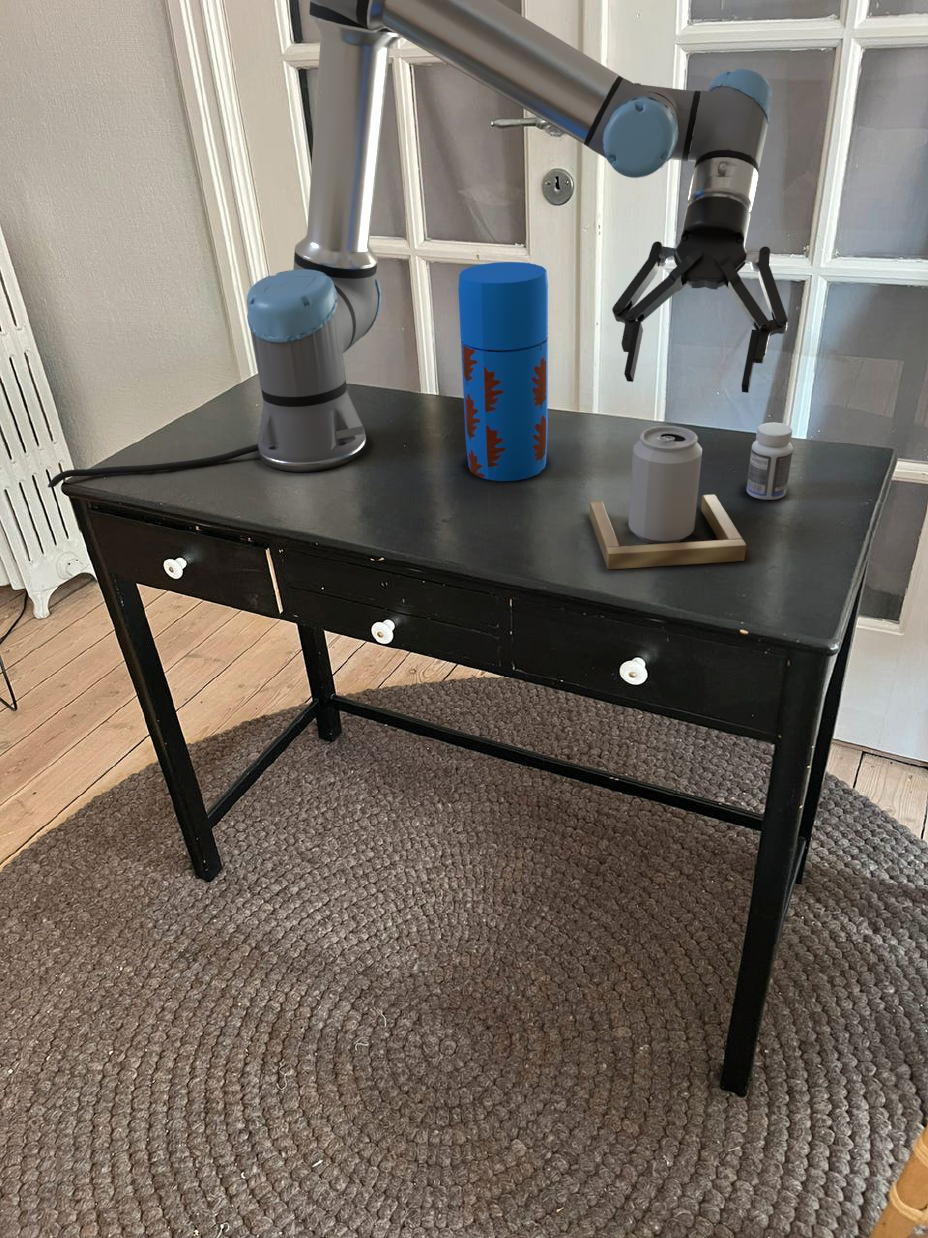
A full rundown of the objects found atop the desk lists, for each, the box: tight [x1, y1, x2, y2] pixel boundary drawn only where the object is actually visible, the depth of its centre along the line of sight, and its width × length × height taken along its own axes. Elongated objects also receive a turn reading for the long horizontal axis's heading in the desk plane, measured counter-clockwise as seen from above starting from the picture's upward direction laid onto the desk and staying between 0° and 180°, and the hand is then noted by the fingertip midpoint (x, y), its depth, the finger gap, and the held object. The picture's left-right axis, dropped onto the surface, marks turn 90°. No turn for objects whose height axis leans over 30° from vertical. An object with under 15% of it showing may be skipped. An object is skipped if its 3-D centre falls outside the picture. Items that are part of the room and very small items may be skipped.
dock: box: [589, 494, 747, 570], centre depth 105 cm, size 15×12×2 cm
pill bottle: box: [746, 421, 794, 501], centre depth 111 cm, size 5×5×8 cm
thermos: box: [457, 261, 549, 482], centre depth 117 cm, size 11×11×25 cm
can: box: [628, 425, 703, 544], centre depth 103 cm, size 8×8×12 cm
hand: (685, 383), depth 108 cm, fingers open, 13 cm apart
